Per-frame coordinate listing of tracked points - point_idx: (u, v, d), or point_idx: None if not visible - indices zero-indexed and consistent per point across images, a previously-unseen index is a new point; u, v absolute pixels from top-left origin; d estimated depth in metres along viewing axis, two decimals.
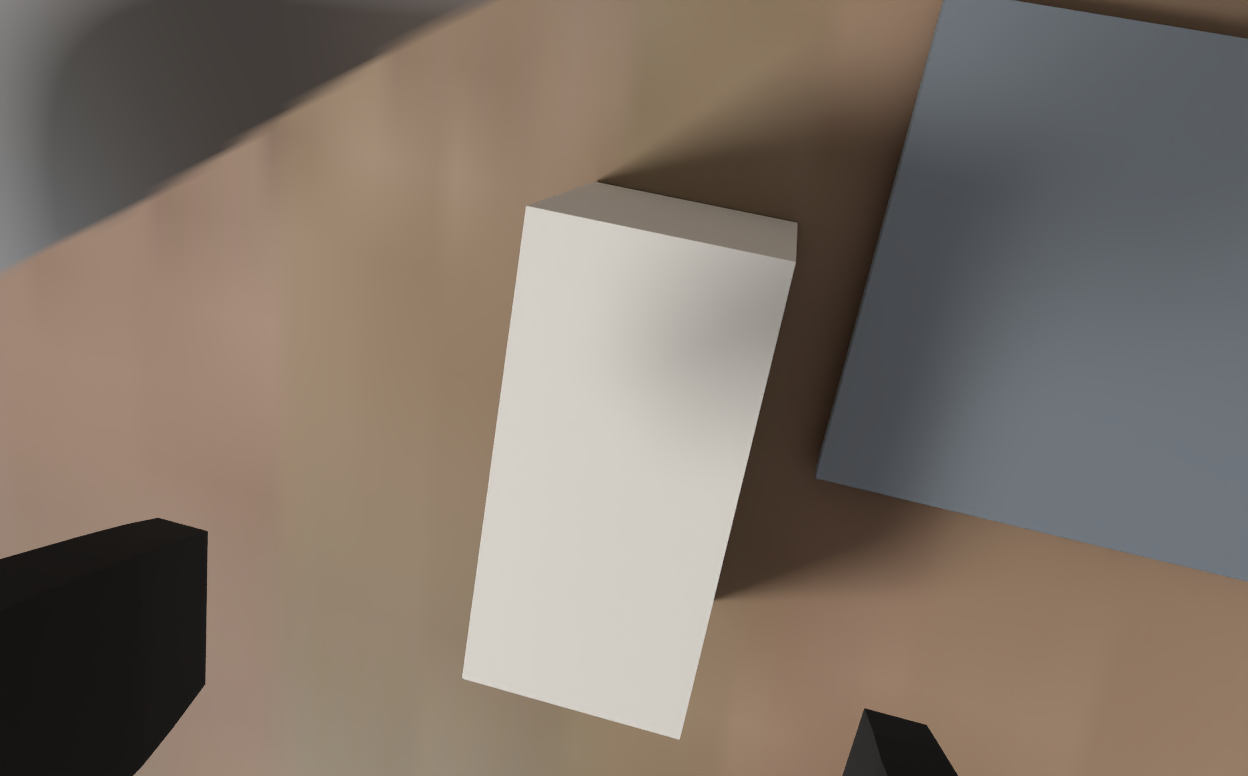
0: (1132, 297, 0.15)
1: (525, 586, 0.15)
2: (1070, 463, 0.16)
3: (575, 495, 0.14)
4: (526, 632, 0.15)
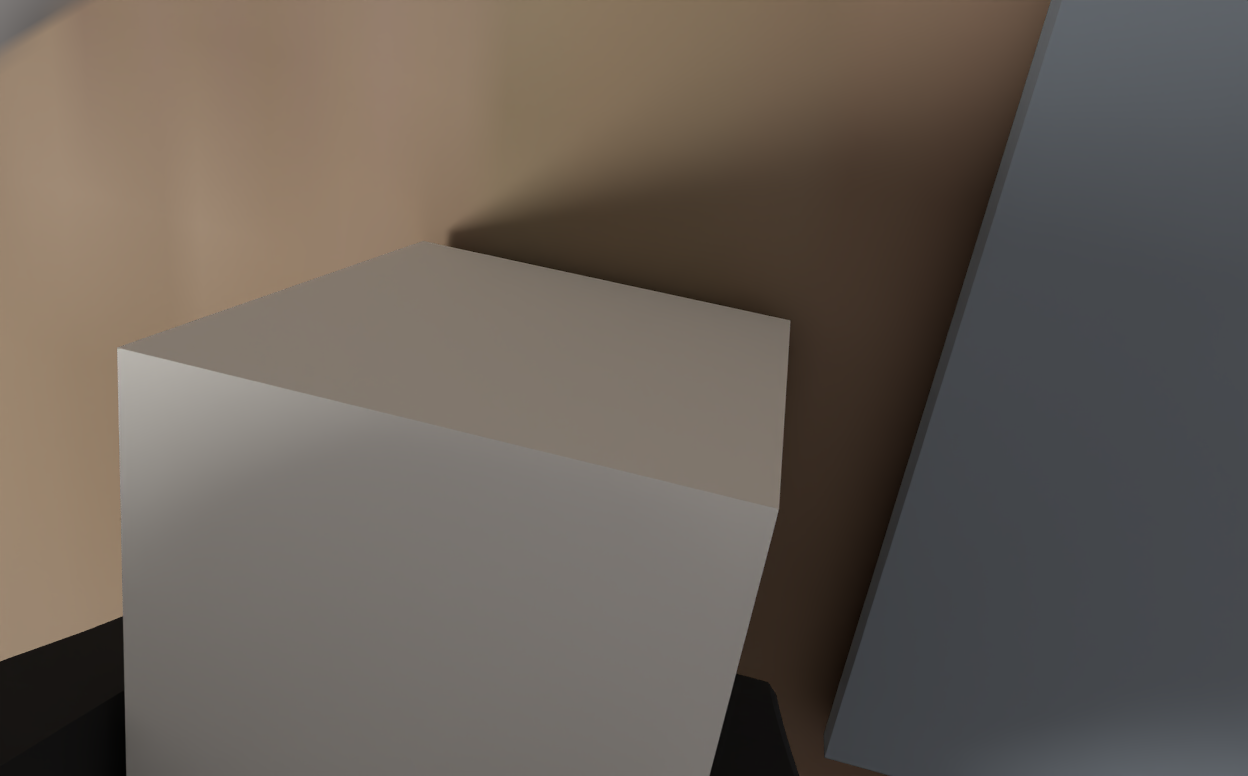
0: None
1: None
2: None
3: None
4: None
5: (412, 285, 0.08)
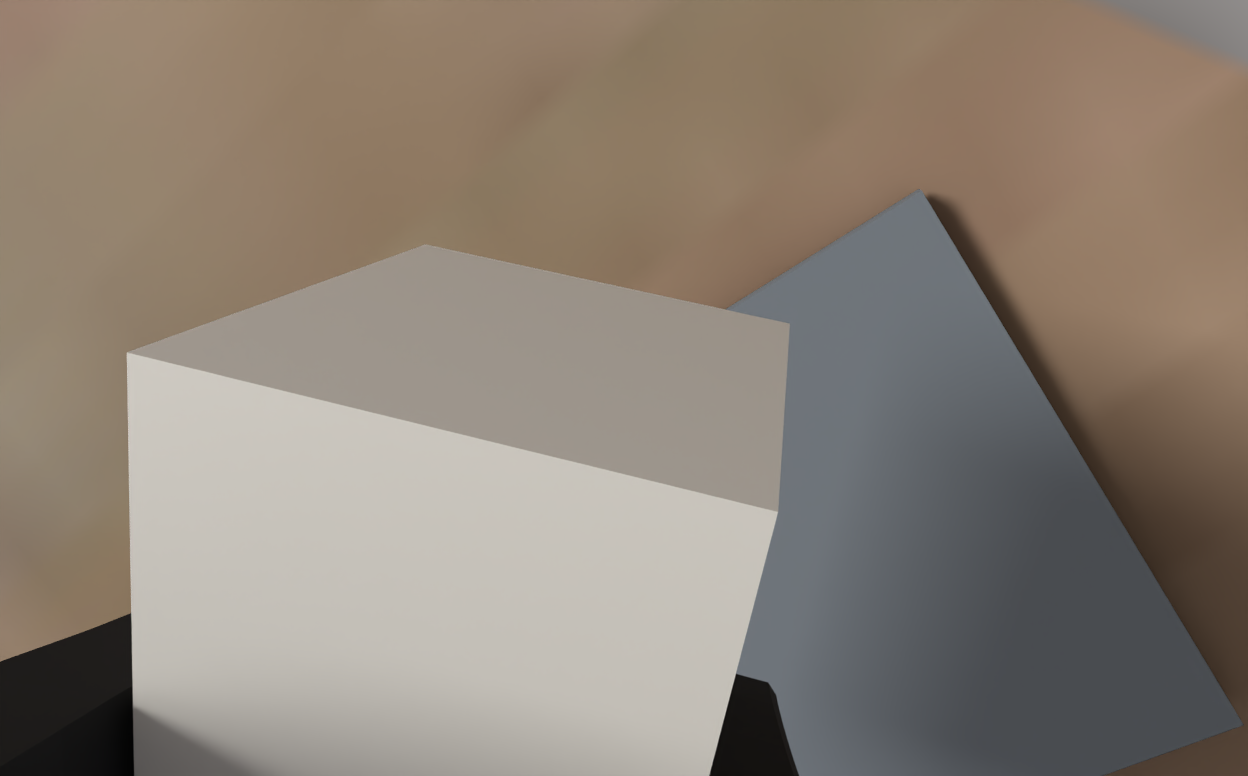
0: (834, 510, 0.17)
1: None
2: None
3: None
4: None
5: (415, 289, 0.08)
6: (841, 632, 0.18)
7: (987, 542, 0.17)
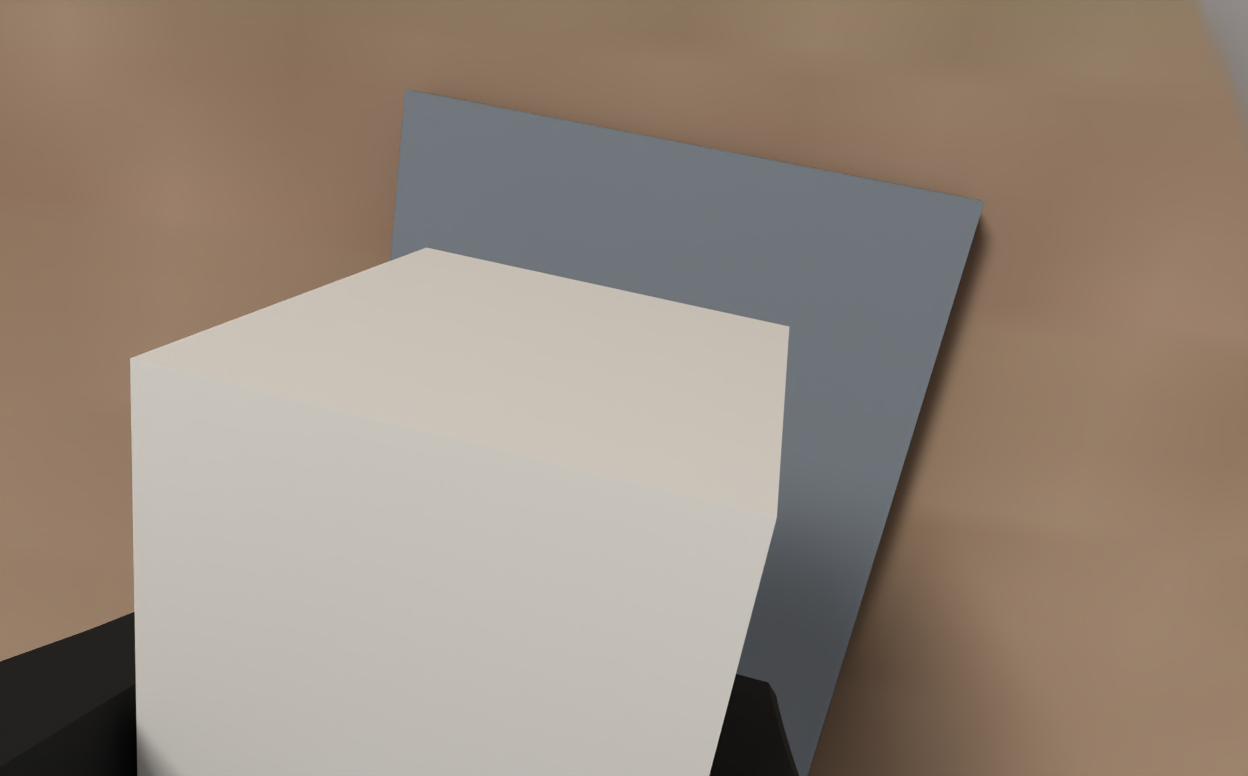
0: None
1: None
2: None
3: None
4: None
5: (416, 293, 0.08)
6: None
7: None
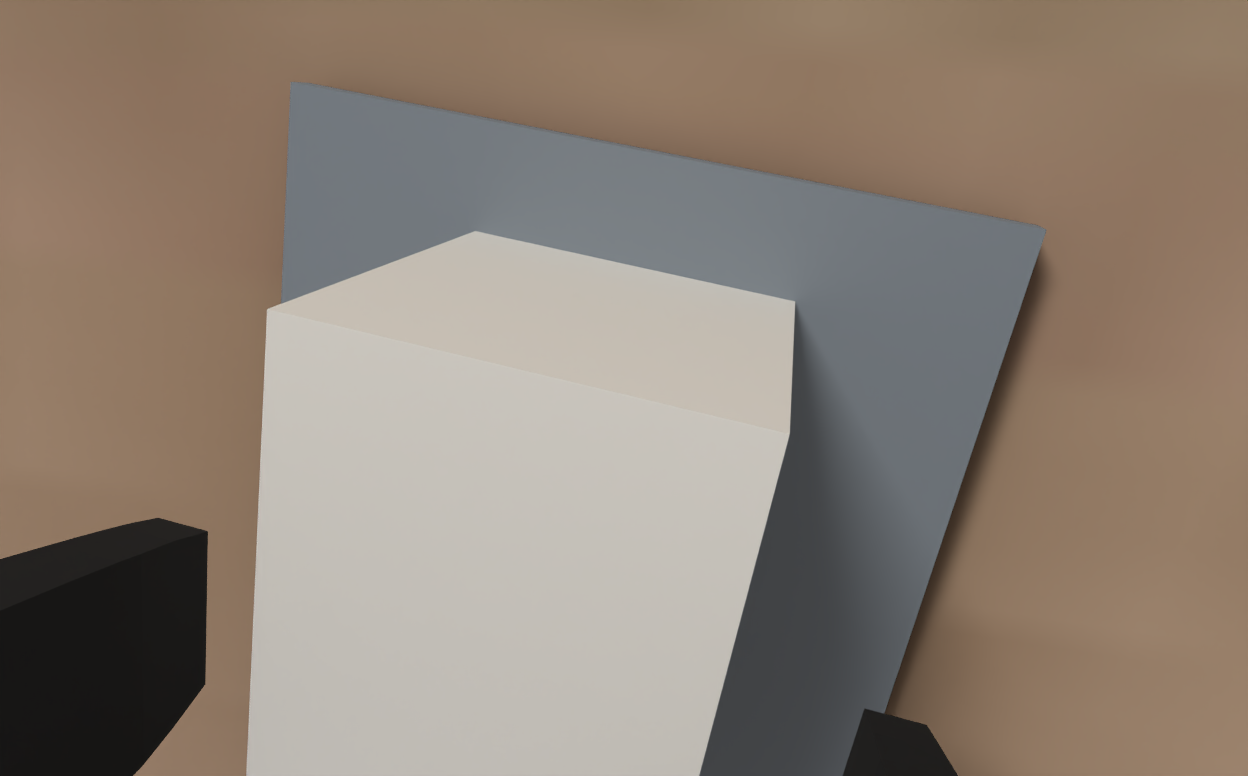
0: None
1: None
2: None
3: None
4: None
5: (476, 267, 0.09)
6: None
7: None
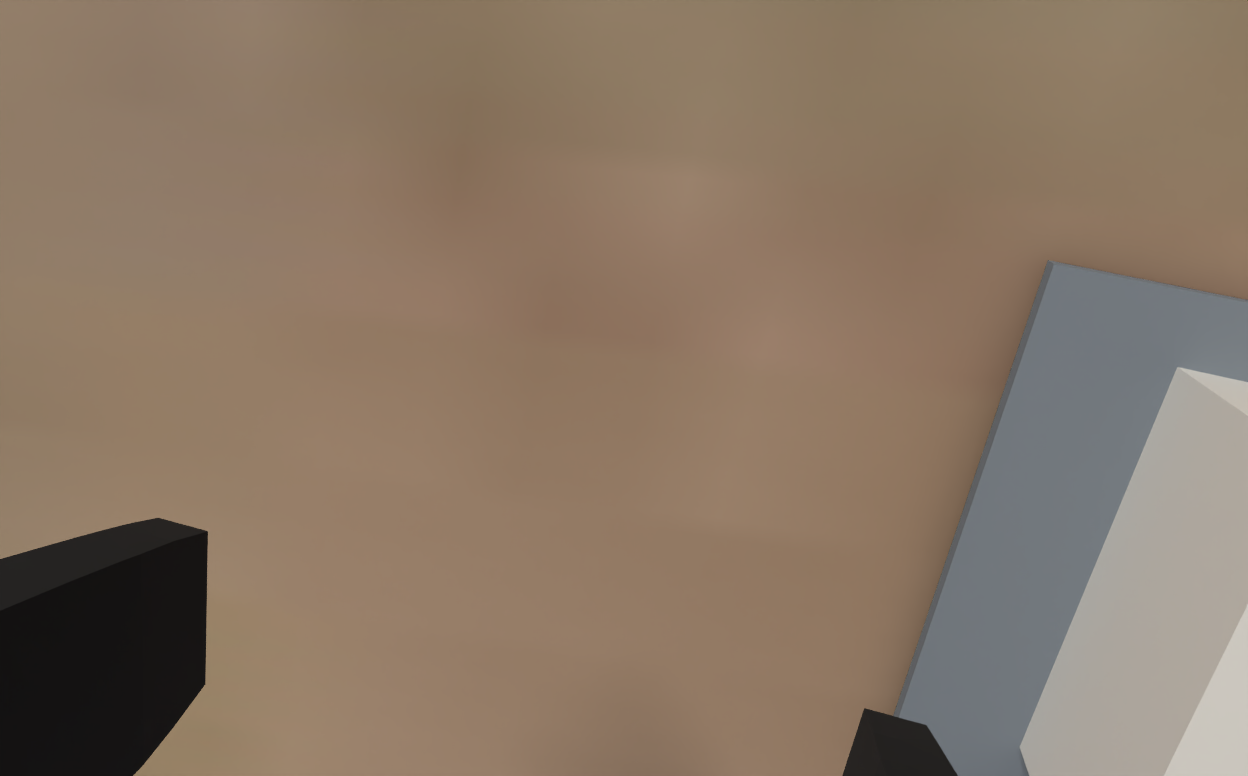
0: None
1: None
2: (1057, 507, 0.17)
3: None
4: None
5: None
6: None
7: None
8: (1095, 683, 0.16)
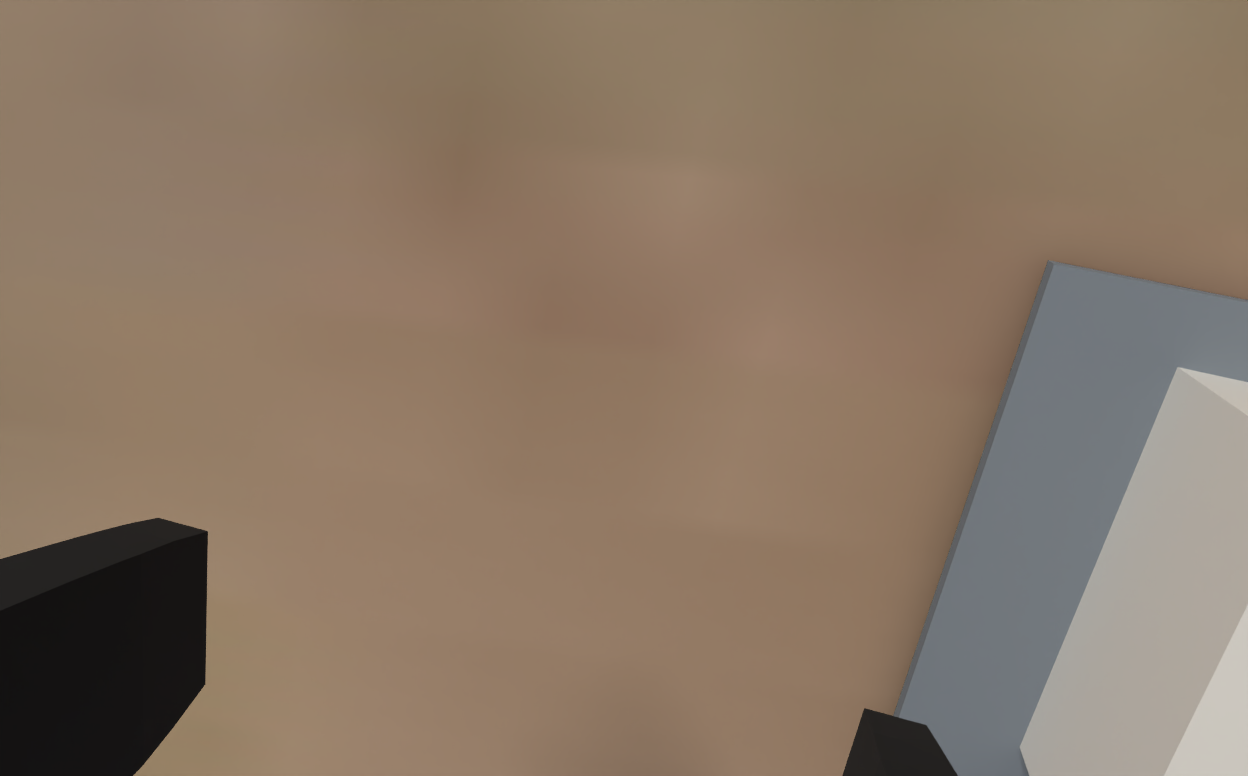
0: None
1: None
2: (1057, 507, 0.17)
3: None
4: None
5: None
6: None
7: None
8: (1095, 683, 0.16)
